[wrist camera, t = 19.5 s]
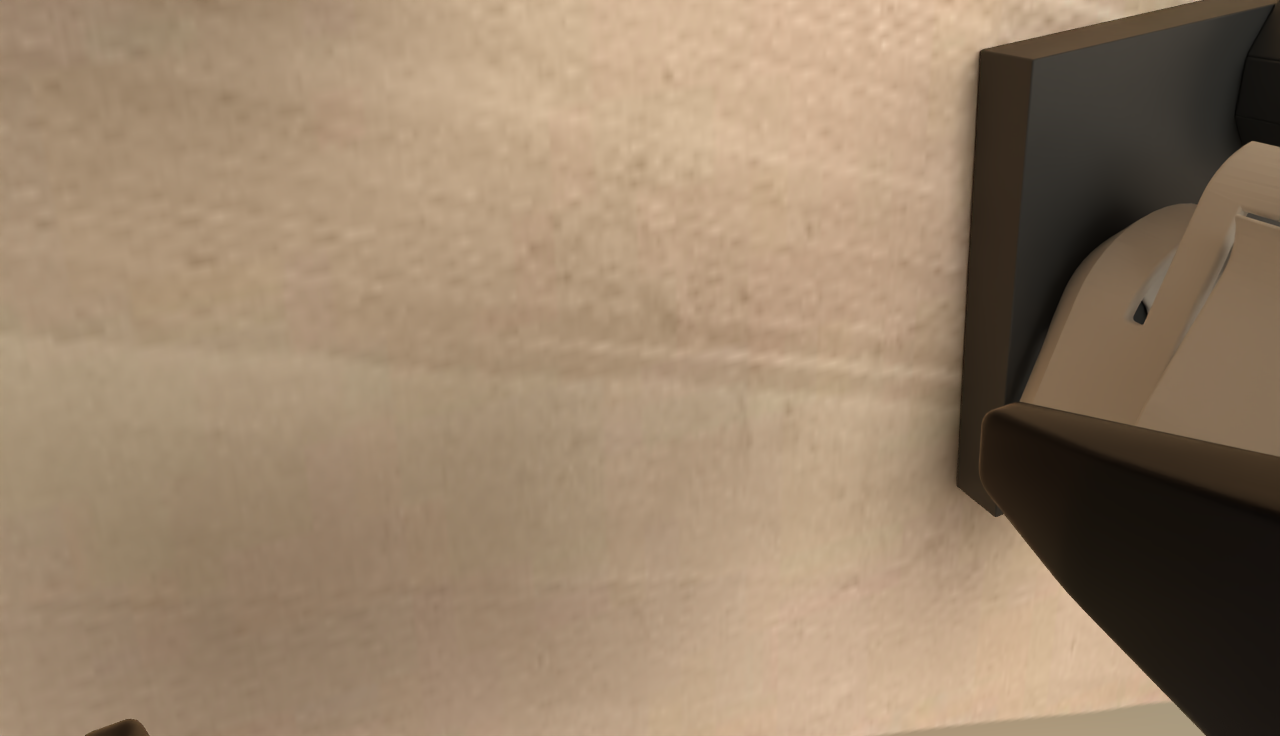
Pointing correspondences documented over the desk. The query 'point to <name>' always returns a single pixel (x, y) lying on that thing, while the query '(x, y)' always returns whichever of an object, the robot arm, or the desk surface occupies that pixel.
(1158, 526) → the robot arm
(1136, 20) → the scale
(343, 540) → the desk surface
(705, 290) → the desk surface
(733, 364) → the desk surface
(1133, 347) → the beige plastic holder
